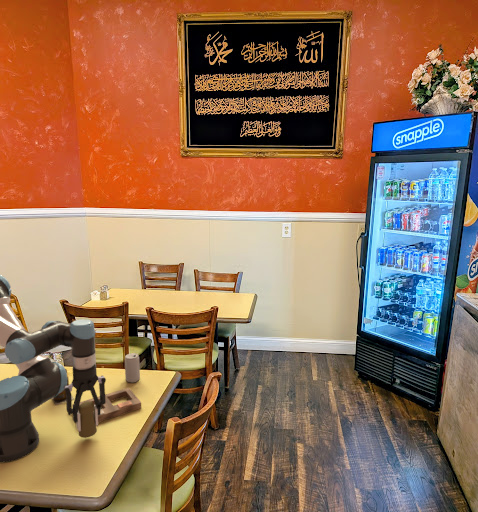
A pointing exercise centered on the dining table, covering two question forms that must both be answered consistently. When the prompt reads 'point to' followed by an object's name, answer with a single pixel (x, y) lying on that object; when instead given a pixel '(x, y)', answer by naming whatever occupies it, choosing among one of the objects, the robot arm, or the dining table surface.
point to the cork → (87, 420)
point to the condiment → (61, 395)
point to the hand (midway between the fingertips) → (87, 426)
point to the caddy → (119, 409)
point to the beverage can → (132, 367)
